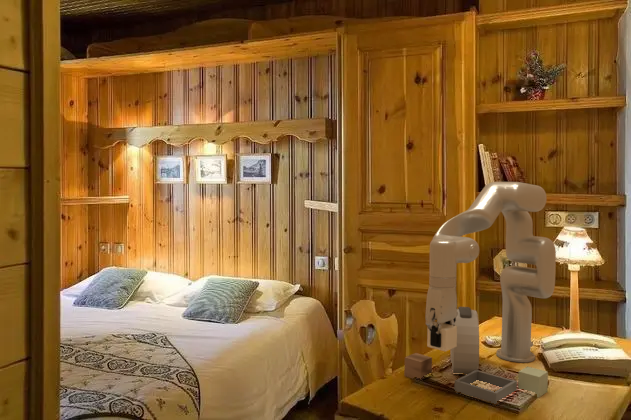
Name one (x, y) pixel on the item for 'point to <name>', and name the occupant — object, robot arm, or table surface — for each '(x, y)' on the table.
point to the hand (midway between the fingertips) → (442, 343)
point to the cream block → (445, 337)
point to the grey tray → (475, 391)
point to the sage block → (533, 380)
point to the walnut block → (417, 365)
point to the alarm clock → (466, 342)
